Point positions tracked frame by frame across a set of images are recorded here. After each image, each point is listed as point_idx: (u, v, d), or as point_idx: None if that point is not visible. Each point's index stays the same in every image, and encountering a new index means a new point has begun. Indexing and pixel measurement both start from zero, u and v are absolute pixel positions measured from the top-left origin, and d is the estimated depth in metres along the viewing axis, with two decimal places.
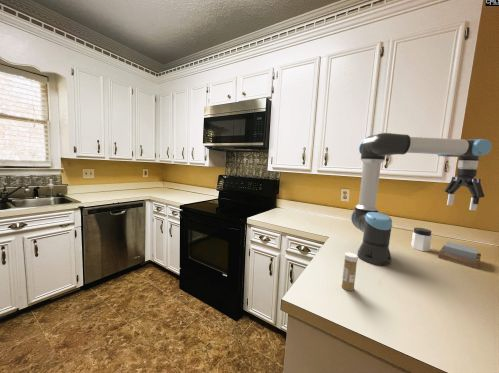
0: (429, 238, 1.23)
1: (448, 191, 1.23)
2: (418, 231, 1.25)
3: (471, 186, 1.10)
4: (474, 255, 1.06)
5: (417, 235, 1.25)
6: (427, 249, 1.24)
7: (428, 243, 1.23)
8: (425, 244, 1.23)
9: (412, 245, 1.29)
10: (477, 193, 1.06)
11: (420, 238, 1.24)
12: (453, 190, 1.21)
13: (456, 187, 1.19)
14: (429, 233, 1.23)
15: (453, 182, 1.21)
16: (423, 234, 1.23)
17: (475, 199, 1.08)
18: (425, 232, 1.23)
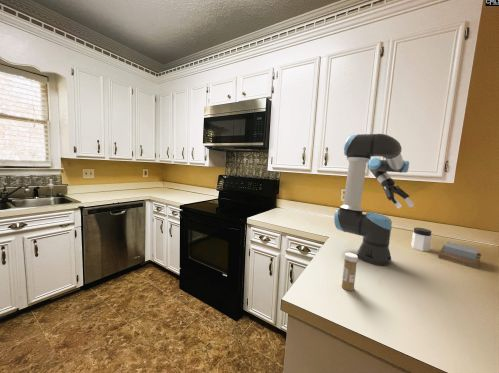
0: (429, 238, 1.23)
1: (392, 196, 1.35)
2: (418, 231, 1.25)
3: None
4: (474, 255, 1.06)
5: (417, 235, 1.25)
6: (427, 249, 1.24)
7: (428, 243, 1.23)
8: (425, 244, 1.23)
9: (412, 245, 1.29)
10: (407, 194, 1.43)
11: (420, 238, 1.24)
12: None
13: None
14: (429, 233, 1.23)
15: None
16: (423, 234, 1.23)
17: (408, 198, 1.41)
18: (425, 232, 1.23)
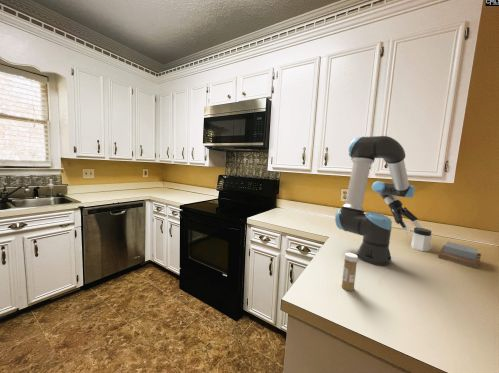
0: (429, 238, 1.23)
1: (401, 219, 1.31)
2: (418, 231, 1.25)
3: None
4: (474, 255, 1.06)
5: (417, 235, 1.25)
6: (427, 249, 1.24)
7: (428, 243, 1.23)
8: (425, 244, 1.23)
9: (412, 245, 1.29)
10: (414, 216, 1.39)
11: (420, 238, 1.24)
12: None
13: None
14: (429, 233, 1.23)
15: None
16: (423, 234, 1.23)
17: (416, 221, 1.37)
18: (425, 232, 1.23)
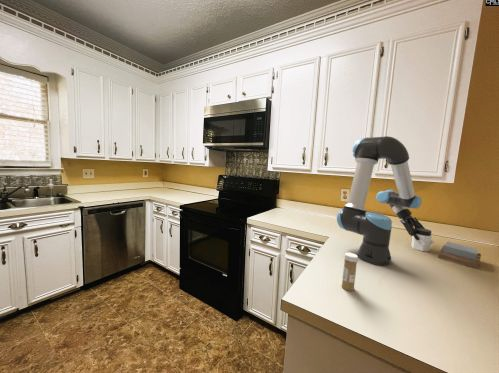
0: (429, 238, 1.23)
1: (414, 232, 1.25)
2: (418, 231, 1.25)
3: None
4: (474, 255, 1.06)
5: None
6: (427, 249, 1.24)
7: (428, 243, 1.23)
8: (425, 244, 1.23)
9: (412, 245, 1.29)
10: (424, 228, 1.31)
11: None
12: None
13: None
14: (429, 233, 1.23)
15: None
16: (423, 234, 1.23)
17: None
18: (425, 232, 1.23)
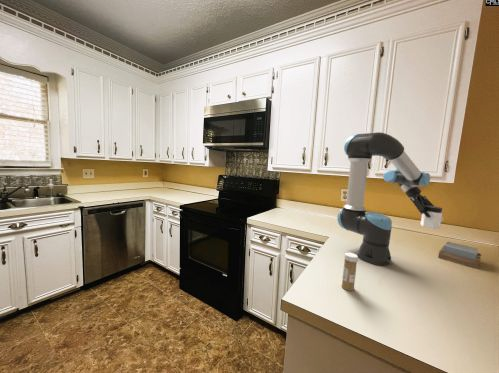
0: (440, 215, 1.20)
1: (425, 209, 1.22)
2: (429, 208, 1.22)
3: None
4: (474, 255, 1.06)
5: None
6: (437, 226, 1.21)
7: (439, 220, 1.20)
8: (436, 221, 1.20)
9: (422, 223, 1.26)
10: None
11: None
12: None
13: None
14: (440, 210, 1.20)
15: None
16: (434, 211, 1.20)
17: None
18: (436, 209, 1.20)
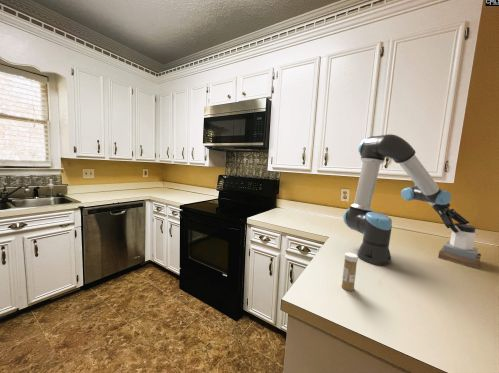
0: (473, 235, 1.10)
1: (452, 223, 1.12)
2: (460, 227, 1.11)
3: None
4: (474, 255, 1.06)
5: None
6: (470, 247, 1.10)
7: (472, 241, 1.10)
8: (468, 242, 1.10)
9: (452, 243, 1.15)
10: (465, 219, 1.19)
11: None
12: None
13: None
14: (473, 229, 1.09)
15: None
16: (466, 231, 1.10)
17: None
18: (469, 228, 1.09)
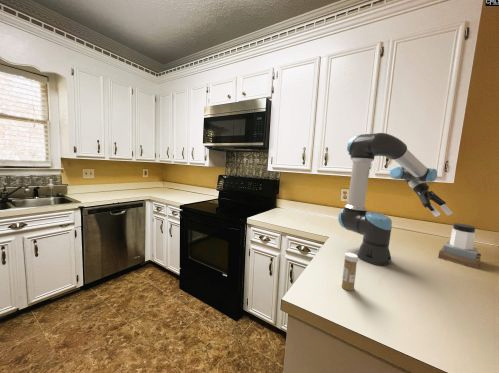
0: (473, 235, 1.10)
1: (429, 202, 1.21)
2: (460, 227, 1.11)
3: None
4: (474, 255, 1.06)
5: (459, 232, 1.12)
6: (470, 247, 1.10)
7: (472, 241, 1.10)
8: (468, 242, 1.10)
9: (452, 243, 1.15)
10: (442, 200, 1.29)
11: (462, 235, 1.11)
12: None
13: None
14: (473, 229, 1.09)
15: None
16: (466, 231, 1.10)
17: None
18: (469, 228, 1.09)
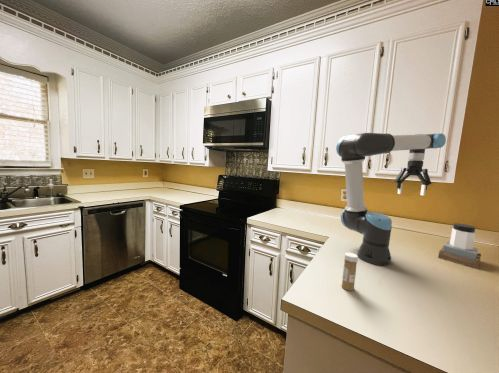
0: (473, 235, 1.10)
1: (400, 181, 1.30)
2: (460, 227, 1.11)
3: None
4: (474, 255, 1.06)
5: (459, 232, 1.12)
6: (470, 247, 1.10)
7: (472, 241, 1.10)
8: (468, 242, 1.10)
9: (452, 243, 1.15)
10: (429, 181, 1.29)
11: (462, 235, 1.11)
12: None
13: None
14: (473, 229, 1.09)
15: None
16: (466, 231, 1.10)
17: (426, 186, 1.30)
18: (469, 228, 1.09)
